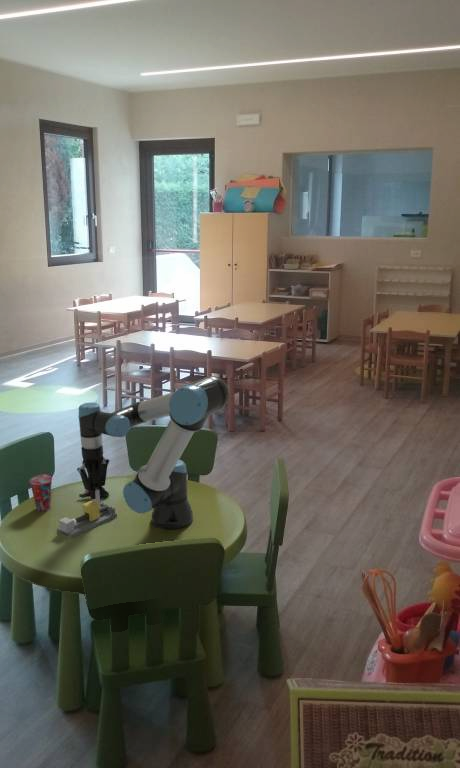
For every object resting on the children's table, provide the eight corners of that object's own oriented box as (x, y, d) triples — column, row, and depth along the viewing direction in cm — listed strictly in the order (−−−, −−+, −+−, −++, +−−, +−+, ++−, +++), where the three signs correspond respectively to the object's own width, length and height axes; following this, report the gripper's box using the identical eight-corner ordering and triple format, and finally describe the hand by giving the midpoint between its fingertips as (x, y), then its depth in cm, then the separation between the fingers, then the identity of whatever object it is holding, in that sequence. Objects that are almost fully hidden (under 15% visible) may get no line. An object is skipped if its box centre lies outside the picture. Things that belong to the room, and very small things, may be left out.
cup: (58, 509, 263) (55, 480, 260) (36, 515, 259) (33, 485, 255) (49, 500, 271) (46, 472, 268) (28, 506, 266) (25, 477, 263)
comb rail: (103, 510, 262) (102, 498, 260) (117, 516, 256) (116, 504, 255) (57, 531, 246) (55, 518, 245) (70, 538, 241) (69, 525, 240)
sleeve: (92, 514, 255) (91, 500, 254) (99, 517, 252) (98, 503, 251) (83, 518, 252) (82, 504, 251) (91, 521, 250) (90, 507, 248)
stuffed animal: (106, 485, 281) (108, 479, 270) (109, 509, 278) (111, 504, 267) (77, 489, 278) (78, 483, 267) (79, 513, 275) (80, 508, 264)
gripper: (99, 438, 254) (104, 496, 261) (70, 448, 245) (75, 508, 251) (112, 442, 249) (116, 502, 256) (83, 453, 240) (88, 515, 247)
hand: (96, 505), depth 254 cm, fingers closed
